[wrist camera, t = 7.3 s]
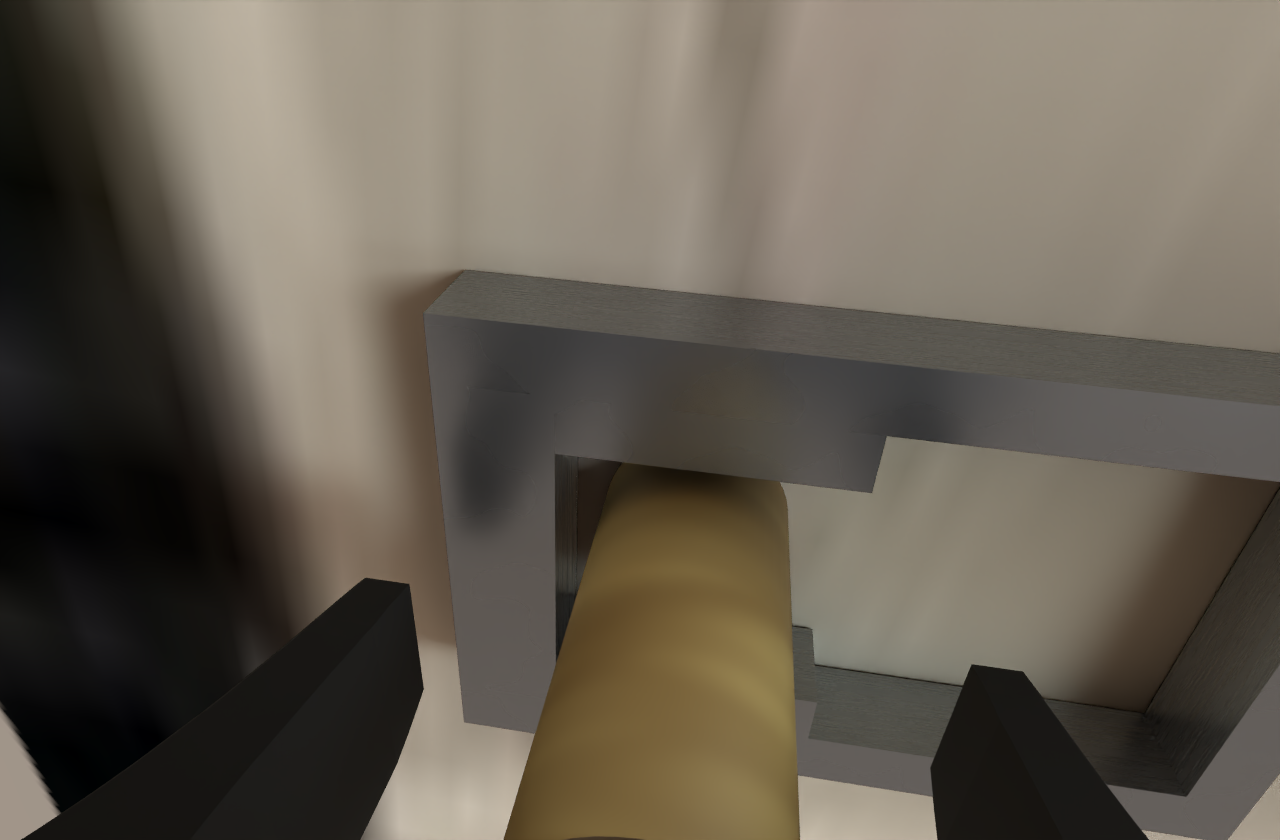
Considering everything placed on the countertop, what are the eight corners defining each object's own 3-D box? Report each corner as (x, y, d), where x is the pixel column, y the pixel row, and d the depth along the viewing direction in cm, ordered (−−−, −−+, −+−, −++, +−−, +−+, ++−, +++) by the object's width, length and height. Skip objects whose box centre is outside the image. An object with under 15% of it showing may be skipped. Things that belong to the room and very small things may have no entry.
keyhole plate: (1439, 370, 10) (1545, 435, 9) (1180, 757, 14) (1224, 843, 13) (464, 270, 11) (422, 312, 10) (491, 654, 15) (463, 722, 14)
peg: (806, 452, 12) (857, 1109, 5) (767, 593, 13) (767, 1238, 7) (616, 420, 12) (423, 1010, 5) (599, 562, 14) (433, 1159, 7)
